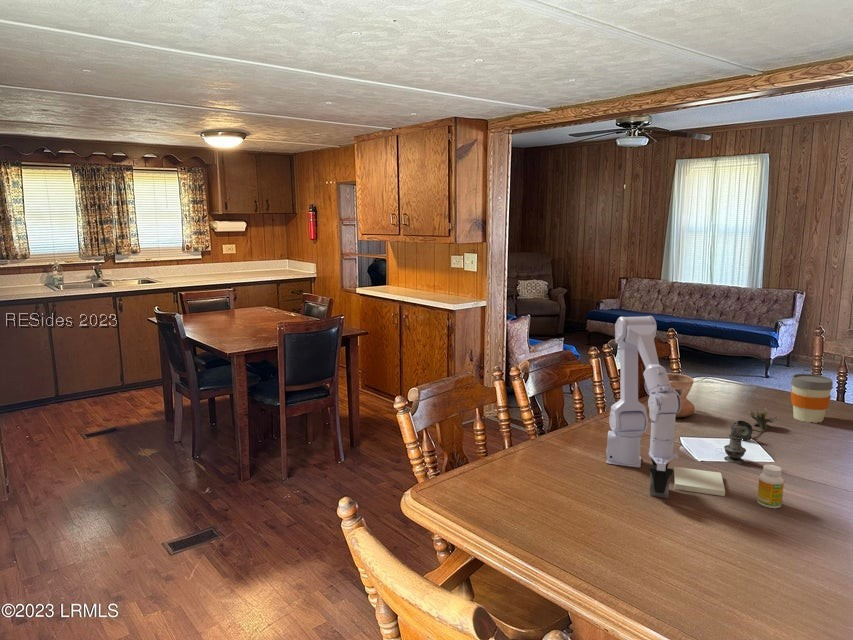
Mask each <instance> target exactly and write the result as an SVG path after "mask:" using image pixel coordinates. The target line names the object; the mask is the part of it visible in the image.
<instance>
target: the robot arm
mask: <svg viewBox="0 0 853 640" xmlns="http://www.w3.org/2000/svg"><path fill="white" fill-rule="evenodd" d="M614 329H615V330H614V339H615V344H617V345H619V350H620V351H619V352H620V353H619V354H620V356H619V357H620V358H619V360H620V361H619V363H620V364H619V365H620V366H619V367H620V370H619V371H620V375H619V376H620V388H619V389H620V391H619V392H620V399H619V400H618V401H616V402H615V403H613V404H612V405H611V406H610V413H609V419H608V421H609V427H610V429H611V430H608V432H607V440H606V443H607V444H606V451H605V455H606V462H605V463H606V464H610V465H617V466H624V467H632V468H641V464H642V456H641V454H640V453H641V436H643V435H644V432H646V431H647V429H648V427H649V419H650V421H651V424H650V439H649V440H650V441H649V451H648V456H649V457H650V459H651V463H652V464H648V469H649V471H650V475H651V474H652V477H653V482H654V489H655V492H656V493H664V491H665V488H666V484H667V481H668V479H669V477H671V476H672V475H673V473H674V468H668V467H669V464H670V463H671V461H672V460H674V459H678V458H679V454H678V453H677V452H674V446H675V433H676V429H675V428H676V418H677V417H676V414H677V413H679V412H680V409H681V400H680V396H679V394H678V393H677V392H676V391H675V389H674V388H672V387H671V384H670V381H669V378H668V375H667V369H666V368H665V366H662V365H661V364H660V362H659V357H658V354H657V347H656V343H655V338H656V336H657V335H656V334H657V330H658V329H657V321H656V319H655V318H654V317H653V316H652V315H647V316H619V317H618V318H617V319H616V322H615V324H614ZM639 355H640V357H641V360H642V363H643V365H644V367H645V370H644V371H643V373H642V374H643V377H644V381H645V385H646V388H647V391H648V394H649V397H648V399H647V406H648V409H649V414H648V413H647V407H646V406H645V405H644V404H643V403H641V402H640V401H639ZM648 415H649V418H648ZM669 480H670V479H669Z"/></svg>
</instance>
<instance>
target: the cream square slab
mask: <svg viewBox="0 0 853 640" xmlns="http://www.w3.org/2000/svg"><path fill="white" fill-rule="evenodd" d="M673 478H674V480H673V481H674V490H678V491H686V492H692V493H699V494H700V493H701V494H707V495H713V496H722V497H725V495H726V489H725V485H724V481H723V480H724V479H723V476H722V472H717V471H709V470H704V469H703V470H702V469H694V468H687V467H681V466H679V467H678V466H674V467H673Z"/></svg>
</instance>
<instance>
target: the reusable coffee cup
mask: <svg viewBox="0 0 853 640" xmlns="http://www.w3.org/2000/svg"><path fill="white" fill-rule="evenodd" d="M790 384H791V390H790V396H791V397H790V400H791V404H792V411H793V418H794V419H795V420H798V421H801V422H804V421H805V422H804V423H810V422H813V423H812V424H818V422H820V423H823V422H822V421H824V418H825V414H826V410H827V409H828V408H829V405H830V402H831V396H832V395H831V391H832V390H834V389H833V388H834V387H833V379H832V378H830V377H827V376H824V375H819V374H812V373H795V374H793V375H792V376H791V380H790Z"/></svg>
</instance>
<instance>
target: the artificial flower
mask: <svg viewBox="0 0 853 640" xmlns="http://www.w3.org/2000/svg"><path fill="white" fill-rule="evenodd" d="M748 414H749V415H750V418H752V419H754V420H755V422H754V423H753V424H752V425H755V426H757V425H759V428H760V429H761V430H757V429H753V426H752V425H751V423H750V422H747V421H744V420H737V421H735V422H734V423H733V424H736V422H738V424H739V425H741V426H742V437H743V438H742V439H743V441H745V440H746V441H750V440H752V438H753V437H752V435H753V432H756V433H762V434H763V433H765V431H766V430H767V427H768V426H767V424H768V423H771V424H772V423H775V422H776V421H778V420H779V419H780V418H779V417H777V416H775V417H774V416H773V417H769V418H767V416H768V409H767V407H766V406H764V408H763V409H762V411H760V410H758V409H757V411H756V413H755V411H753V410H749V411H748ZM746 441H745V442H746Z"/></svg>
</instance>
